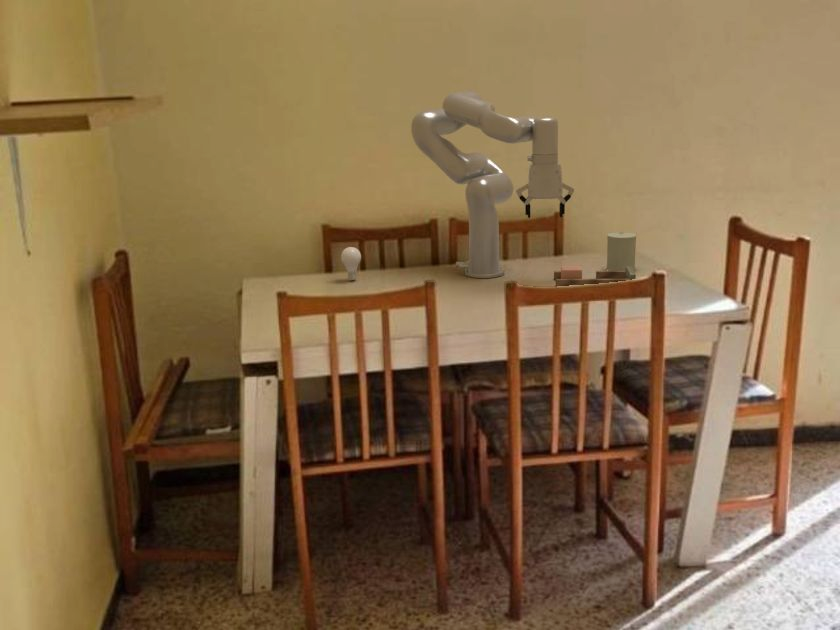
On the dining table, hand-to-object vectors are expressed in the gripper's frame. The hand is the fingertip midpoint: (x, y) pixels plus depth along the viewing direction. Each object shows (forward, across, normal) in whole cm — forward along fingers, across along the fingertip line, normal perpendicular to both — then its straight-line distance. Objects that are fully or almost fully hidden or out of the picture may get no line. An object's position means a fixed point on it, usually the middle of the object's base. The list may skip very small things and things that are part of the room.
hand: (544, 217), depth 270 cm
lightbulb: (+20, -61, +6) cm, 65 cm away
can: (+21, +25, +18) cm, 37 cm away
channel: (+21, +14, 0) cm, 25 cm away
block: (+21, +8, 0) cm, 22 cm away
